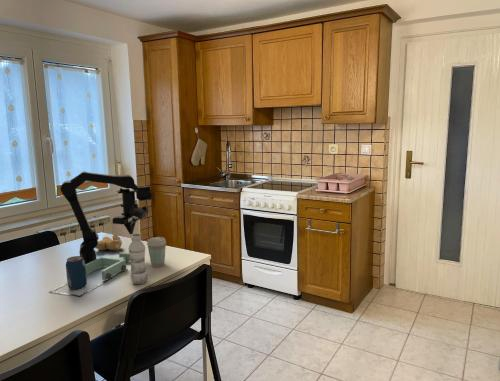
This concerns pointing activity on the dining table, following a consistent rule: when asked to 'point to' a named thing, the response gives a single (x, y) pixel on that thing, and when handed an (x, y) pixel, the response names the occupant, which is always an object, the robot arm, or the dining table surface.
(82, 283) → the soda can
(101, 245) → the ginger root
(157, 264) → the coffee cup
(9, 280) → the dining table surface
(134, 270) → the plastic bottle
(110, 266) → the cart
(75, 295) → the rails
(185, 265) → the dining table surface
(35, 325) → the dining table surface
